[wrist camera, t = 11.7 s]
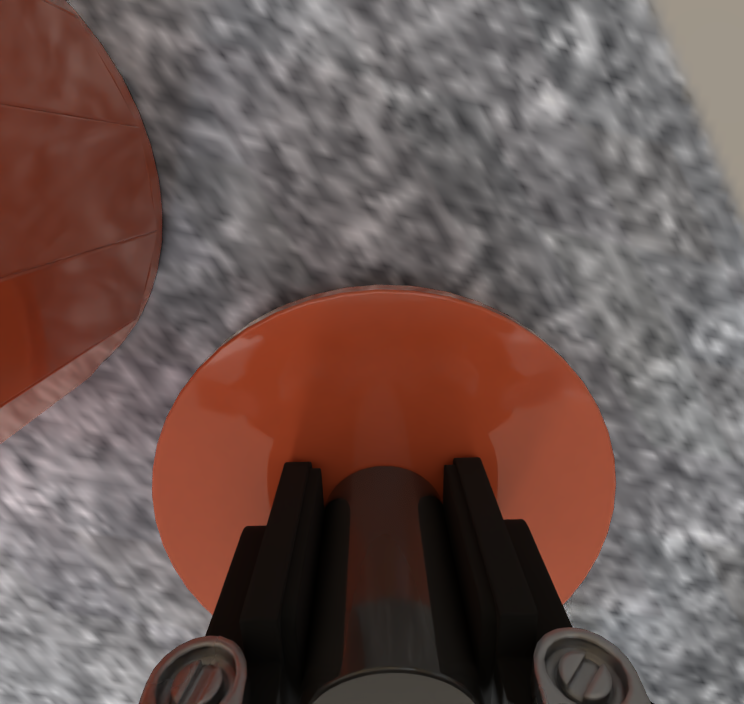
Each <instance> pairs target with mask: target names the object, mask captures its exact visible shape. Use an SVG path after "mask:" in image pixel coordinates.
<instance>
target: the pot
mask: <svg viewBox="0 0 744 704" xmlns="http://www.w3.org/2000/svg"><path fill="white" fill-rule="evenodd" d="M161 245H162V203H161V194H160V185H159V178H158V174H157V169H156V165H155V161H154V156H153V152H152V148H151V144H150V142H149V139H148V136H147V133H146V130H145V128H144V125H143V122H142V119H141V116H140V113H139V111H138V109H137V107H136V105H135V103H134V101H133V99H132V97H131V95H130V93H129V90H128V88H127V86H126V84H125V82H124V80H123V78H122V76H121V75H120V73H119V72H118V70H117V68H116V67H115V65H114V64H113V62H112V60H111V59H110V57H109V56H108V54H107V52H106V51H105V49H104V48H103V46H102V44H101V43H100V42H99V40H98V39H97V38H96V37H95V35H94V34H93V33H92V31H91V30H90V29H89V28H88V26H87V25H86V24H85V22H84V21H83V20H82V19H81V17H80V16H79V15H78V14H77V12H76V11H75V10H74V9H73V8H72V7H71V6H70V5H69V4H68V3H67V2H66V1H65V0H0V444H1V443H2V442H4V441H5V440H6V439H8V438H9V437H10V436H12V435H13V434H14V433H16V432H17V431H18V430H20V429H21V428H22V427H24V426H25V425H26V424H28V423H29V422H30V421H32V420H33V419H34V418H36V417H37V416H38V415H40V414H41V413H42V412H44V411H45V410H46V409H48V408H49V407H50V406H52V405H53V404H54V403H56V402H57V401H58V400H60V399H61V398H62V397H64V396H65V395H66V394H68V393H69V392H71V391H72V390H73V389H75V388H76V387H77V386H79V385H80V384H81V383H83V382H84V381H85V380H87V379H88V378H89V377H90V376H91V375H92V374H93V373H94V372H95V370H96V369H97V368H98V367H99V365H100V364H101V363H102V362H103V361H105V360H106V359H107V358H108V357H109V356H110V355H111V354H112V353H113V352H114V351H115V350H116V349H117V348H118V347H119V346H120V345H121V344H122V342H123V341H124V340H125V339H126V337H127V336H128V334H129V333H130V331H131V330H132V329H133V327H134V326H135V324H136V323H137V321H138V320H139V318H140V315H141V313H142V311H143V309H144V307H145V305H146V303H147V301H148V299H149V297H150V293H151V290H152V287H153V284H154V280H155V277H156V274H157V270H158V264H159V258H160V251H161Z"/></svg>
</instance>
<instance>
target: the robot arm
mask: <svg viewBox="0 0 744 704" xmlns="http://www.w3.org/2000/svg"><path fill="white" fill-rule="evenodd" d="M443 508H444V512H445V517H446V522H447V527H448V531H449V536H450V541H451V545H452V550H453V555H454V559H455V564H456V569H457V574H458V578H459V583H460V588H461V592H462V597H463V602H464V606H465V611H466V616H467V620H468V625H469V630H470V635H471V639H472V644H473V649H474V653H475V658H476V663H477V667H478V672H479V676H480V680H481V685H482V690H483V694H484V699H485V704H654V703H652V702H651V701H650V700H649V698H648V696H647V694H646V691H645V689H644V687H643V685H642V683H641V681H640V678H639V676H638V674H637V672H636V670H635V669H634V667H633V665H632V664H631V662H630V661H629V659H628V658H627V657H626V656H625V655H624V654H623V653H622V652H621V651H620V650H619V649H618V648H617V647H616V646H615V645H614V644H612V643H611V642H609V641H608V640H606V639H605V638H603V637H602V636H600V635H597V634H595V633H592V632H590V631H587V630H584V629H578V628H572V625H571V623H570V621H569V619H568V616H567V614H566V612H565V609H564V607H563V605H562V603H561V600H560V598H559V596H558V593H557V591H556V589H555V586H554V584H553V582H552V580H551V577H550V575H549V573H548V570H547V568H546V566H545V563H544V561H543V559H542V557H541V554H540V552H539V550H538V547H537V545H536V543H535V541H534V538H533V536H532V534H531V531H530V529H529V527H528V525H527V523H526V521H524V520H523V519H503V517H502V514H501V511H500V509H499V506H498V503H497V501H496V498H495V495H494V493H493V490H492V487H491V485H490V482H489V479H488V477H487V474H486V471H485V469H484V466H483V463H482V461H481V459H480V458H479V457H466V458H454V459H453V465H444V478H443ZM323 517H324V500H323V487H322V474H321V468H312V464H311V462H286V463H285V464H284V467H283V470H282V473H281V477H280V480H279V484H278V487H277V491H276V494H275V498H274V501H273V505H272V508H271V512H270V515H269V519H268V522H267V525H263V526H246V527H245V528H244V529H243V531H242V533H241V536H240V539H239V542H238V545H237V547H236V550H235V553H234V556H233V559H232V562H231V565H230V567H229V570H228V573H227V576H226V579H225V582H224V585H223V587H222V590H221V593H220V596H219V599H218V602H217V604H216V607H215V610H214V613H213V616H212V619H211V622H210V624H209V627H208V630H207V633H206V636H205V637H200V638H195V639H192V640H190V641H188V642H186V643H183V644H181V645H179V646H178V647H176V648H175V649H174V650H172V651H171V652H170V653H168V654H167V655H166V656H165V657H164V658H163V659H162V660H161V661H160V662H159V663H158V665H157V666H156V667H155V668H154V669H153V671H152V673H151V675H150V677H149V679H148V681H147V683H146V685H145V688H144V690H143V693H142V696H141V698H140V701H139V704H298V703H299V695H300V688H301V682H302V674H303V667H304V659H305V652H306V644H307V637H308V629H309V622H310V614H311V607H312V599H313V592H314V584H315V577H316V569H317V562H318V554H319V547H320V539H321V532H322V524H323Z"/></svg>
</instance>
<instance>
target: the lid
mask: <svg viewBox="0 0 744 704" xmlns="http://www.w3.org/2000/svg"><path fill="white" fill-rule="evenodd" d="M466 457H479V458H480V459H481V461H482V463H483V466H484V469H485V471H486V474H487V477H488V479H489V482H490V485H491V487H492V490H493V493H494V495H495V498H496V501H497V503H498V506H499V509H500V511H501V514H502V517H503V519H523V520H524V521H526V523H527V525H528V527H529V529H530V531H531V534H532V536H533V538H534V541H535V543H536V545H537V547H538V550H539V552H540V554H541V557H542V559H543V561H544V563H545V566H546V568H547V570H548V573H549V575H550V577H551V580H552V582H553V584H554V586H555V589H556V591H557V593H558V596H559V598H560V600H561V603H562V605H563V604H564V603H565V602H566V601H567V600H568V599H569V598H570V597H571V596H572V594H573V593H574V592H575V591H576V589H577V588H578V587H579V585H580V584H581V583H582V582H583V580H584V579H585V578H586V576H587V574H588V573H589V571H590V569H591V568H592V566H593V564H594V562H595V561H596V559H597V557H598V555H599V553H600V550H601V548H602V546H603V543H604V541H605V538H606V536H607V534H608V530H609V526H610V522H611V518H612V514H613V510H614V500H615V489H616V476H615V461H614V454H613V449H612V445H611V441H610V437H609V432H608V429H607V427H606V424H605V422H604V419H603V417H602V415H601V412H600V410H599V407H598V405H597V403H596V402H595V400H594V399H593V397H592V395H591V394H590V392H589V390H588V389H587V387H586V386H585V384H584V382H583V381H582V380H581V378H580V377H579V376H578V375H577V374H576V373H575V371H574V370H573V369H572V368H571V367H570V365H569V364H568V363H567V362H566V361H565V360H564V358H563V357H562V356H561V355H560V354H559V353H558V352H557V351H555V350H554V349H553V348H552V347H551V346H550V345H549V344H547V343H546V342H545V341H544V340H543V339H542V338H540V337H539V336H538V335H537V334H536V333H535V332H533V331H532V330H530V329H529V328H527V327H526V326H524V325H523V324H521V323H519V322H518V321H516V320H515V319H513V318H512V317H510V316H509V315H507V314H505V313H502V312H500V311H498V310H496V309H494V308H492V307H489V306H487V305H485V304H483V303H481V302H479V301H476V300H472V299H469V298H466V297H463V296H459V295H456V294H453V293H449V292H446V291H440V290H434V289H428V288H422V287H416V286H403V285H369V286H358V287H347V288H341V289H336V290H332V291H328V292H323V293H319V294H314V295H310V296H308V297H305V298H302V299H299V300H297V301H294V302H291V303H289V304H286V305H283V306H280V307H278V308H276V309H275V310H273V311H271V312H269V313H267V314H265V315H263V316H261V317H259V318H258V319H256V320H254V321H252V322H250V323H249V324H248V325H246V326H245V327H243V328H242V329H241V330H239V331H238V332H236V333H235V334H234V335H232V336H231V337H230V338H228V339H227V340H225V341H224V342H223V343H222V344H221V345H220V346H219V347H218V348H217V349H216V350H215V351H214V352H213V353H212V354H211V355H210V356H209V357H208V358H207V359H206V360H205V361H204V362H203V363H202V364H201V365H200V367H199V368H198V369H197V370H196V372H195V373H194V374H193V376H192V377H191V378H190V380H189V381H188V382H187V383H186V385H185V386H184V387H183V389H182V390H181V391H180V393H179V395H178V397H177V398H176V400H175V402H174V404H173V406H172V408H171V409H170V411H169V413H168V415H167V417H166V420H165V422H164V425H163V428H162V431H161V434H160V437H159V439H158V442H157V447H156V453H155V458H154V464H153V476H152V498H153V505H154V512H155V519H156V523H157V527H158V530H159V533H160V537H161V540H162V543H163V546H164V548H165V550H166V552H167V554H168V557H169V559H170V561H171V563H172V565H173V567H174V569H175V570H176V572H177V573H178V575H179V576H180V578H181V579H182V581H183V582H184V584H185V585H186V587H187V588H188V589H189V591H190V592H191V593H192V594H193V595H194V596H195V598H196V599H197V600H198V601H199V602H200V603H201V605H202V606H203V607H204V608H205V609H206V610H208V611H209V612H210V613H211V614H212V615H213V613H214V610H215V607H216V604H217V602H218V599H219V596H220V593H221V590H222V587H223V585H224V582H225V579H226V576H227V573H228V570H229V567H230V565H231V562H232V559H233V556H234V553H235V550H236V547H237V545H238V542H239V539H240V536H241V533H242V531H243V529H244V528H245V527H246V526H263V525H267V522H268V519H269V515H270V512H271V508H272V505H273V501H274V498H275V494H276V491H277V487H278V484H279V480H280V477H281V473H282V470H283V467H284V464H285V463H286V462H311V464H312V468H321V474H322V487H323V500H324V517H323V524H322V532H321V539H320V547H319V554H318V562H317V569H316V577H315V584H314V592H313V599H312V607H311V614H310V622H309V629H308V637H307V644H306V652H305V659H304V667H303V674H302V682H301V688H300V695H299V703H298V704H485V699H484V694H483V690H482V685H481V680H480V676H479V672H478V667H477V663H476V658H475V653H474V649H473V644H472V639H471V635H470V630H469V625H468V620H467V616H466V611H465V606H464V602H463V597H462V592H461V588H460V583H459V578H458V574H457V569H456V564H455V559H454V555H453V550H452V545H451V541H450V536H449V531H448V527H447V522H446V517H445V512H444V508H443V478H444V465H453V459H454V458H466Z"/></svg>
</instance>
